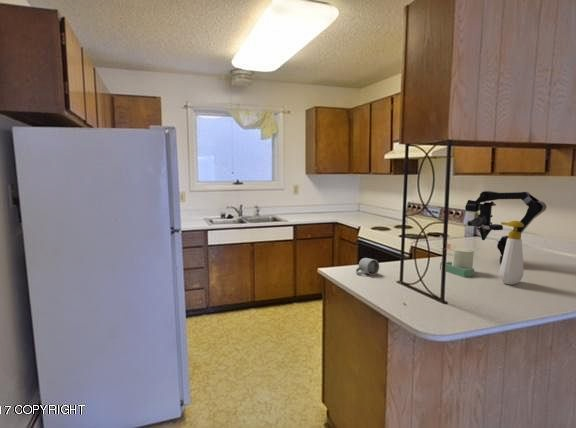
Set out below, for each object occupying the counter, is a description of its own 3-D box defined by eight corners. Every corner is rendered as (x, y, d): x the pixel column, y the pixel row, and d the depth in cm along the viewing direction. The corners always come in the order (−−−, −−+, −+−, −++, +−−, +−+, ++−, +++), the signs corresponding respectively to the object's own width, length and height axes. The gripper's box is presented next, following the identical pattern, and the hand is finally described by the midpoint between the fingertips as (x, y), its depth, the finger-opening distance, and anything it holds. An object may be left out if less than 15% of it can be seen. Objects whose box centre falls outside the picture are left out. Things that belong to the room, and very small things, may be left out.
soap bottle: (503, 277, 171) (509, 218, 168) (527, 283, 163) (533, 220, 159) (489, 281, 165) (494, 219, 161) (513, 288, 156) (518, 222, 152)
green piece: (449, 268, 187) (451, 241, 186) (473, 275, 174) (475, 246, 172) (439, 269, 185) (441, 242, 183) (463, 277, 171) (465, 247, 170)
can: (472, 275, 175) (473, 251, 173) (451, 272, 179) (453, 249, 178) (473, 270, 183) (474, 248, 181) (453, 268, 187) (454, 246, 186)
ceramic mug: (368, 270, 183) (369, 255, 182) (379, 274, 175) (379, 259, 174) (352, 272, 178) (352, 258, 177) (362, 277, 171) (362, 261, 170)
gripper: (461, 211, 206) (459, 238, 208) (490, 215, 189) (488, 244, 191) (475, 211, 210) (473, 236, 212) (504, 214, 193) (502, 242, 195)
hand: (483, 240), depth 203 cm, fingers closed
